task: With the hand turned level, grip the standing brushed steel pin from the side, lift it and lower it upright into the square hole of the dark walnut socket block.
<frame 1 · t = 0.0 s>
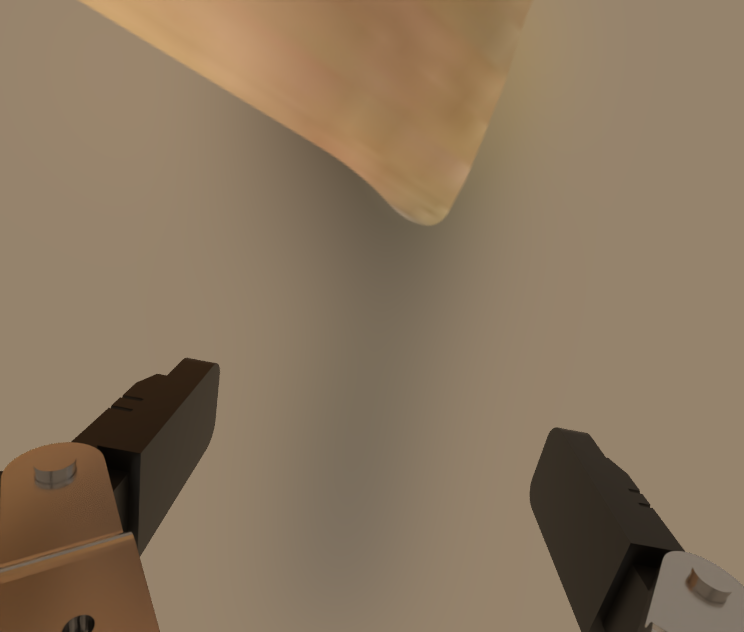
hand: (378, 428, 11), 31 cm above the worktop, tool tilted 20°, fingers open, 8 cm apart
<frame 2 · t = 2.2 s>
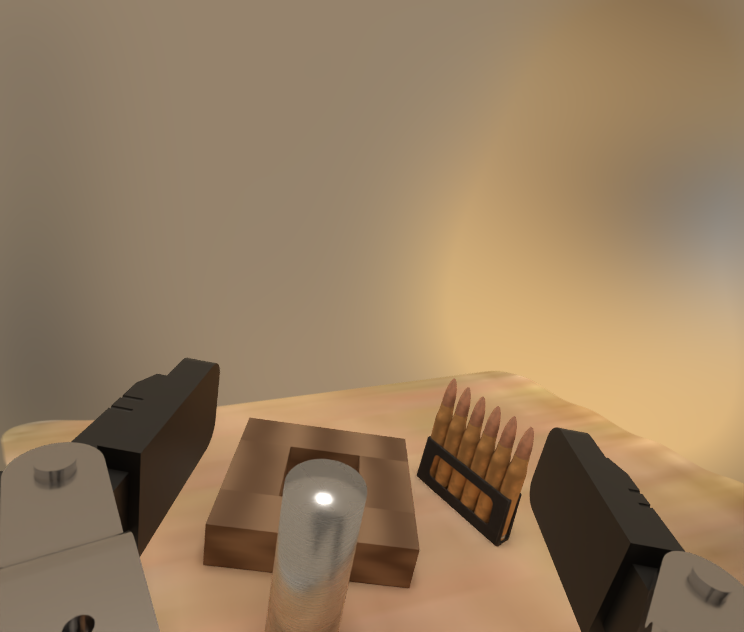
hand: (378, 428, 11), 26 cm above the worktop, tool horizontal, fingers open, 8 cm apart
walnut socket block: (316, 509, 43), on the worktop
ammunition clip: (458, 506, 47), on the worktop
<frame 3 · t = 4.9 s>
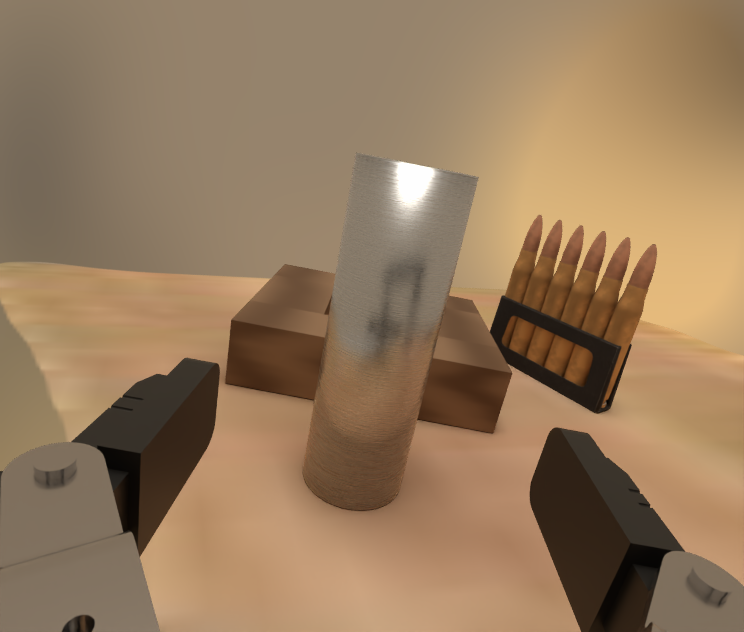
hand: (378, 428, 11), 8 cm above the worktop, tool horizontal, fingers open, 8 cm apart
walnut socket block: (366, 359, 34), on the worktop
ammunition clip: (540, 379, 38), on the worktop
steel pin: (352, 474, 22), on the worktop
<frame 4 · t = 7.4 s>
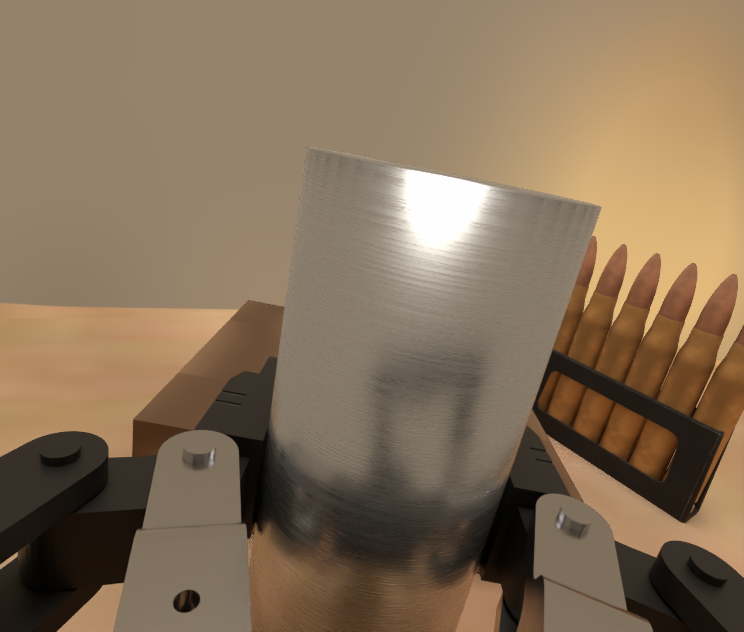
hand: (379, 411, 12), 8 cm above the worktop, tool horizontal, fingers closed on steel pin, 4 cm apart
walnut socket block: (355, 441, 24), on the worktop
ammunition clip: (592, 458, 28), on the worktop
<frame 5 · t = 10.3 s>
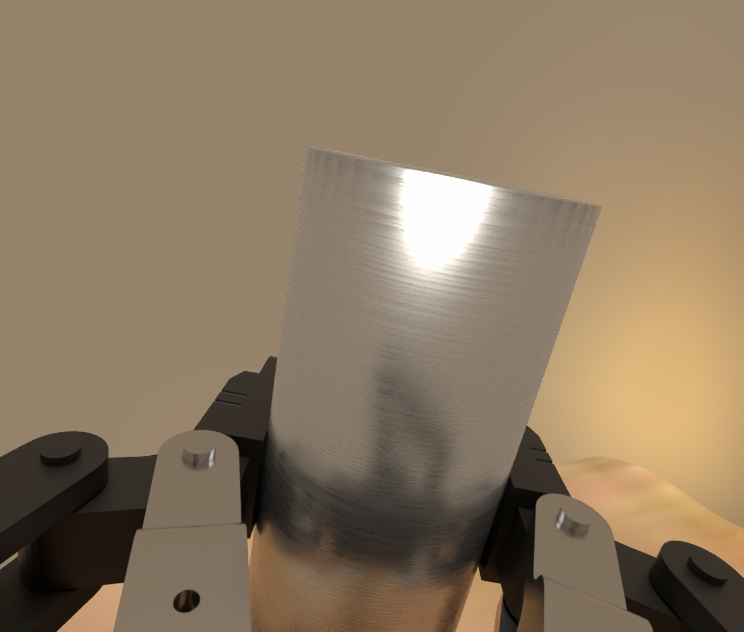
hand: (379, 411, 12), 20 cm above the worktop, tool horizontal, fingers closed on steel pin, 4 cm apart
when the fingers open (9 cm above the worktop, at t = 13.3 s): steel pin drops 1 cm, resting in walnut socket block.
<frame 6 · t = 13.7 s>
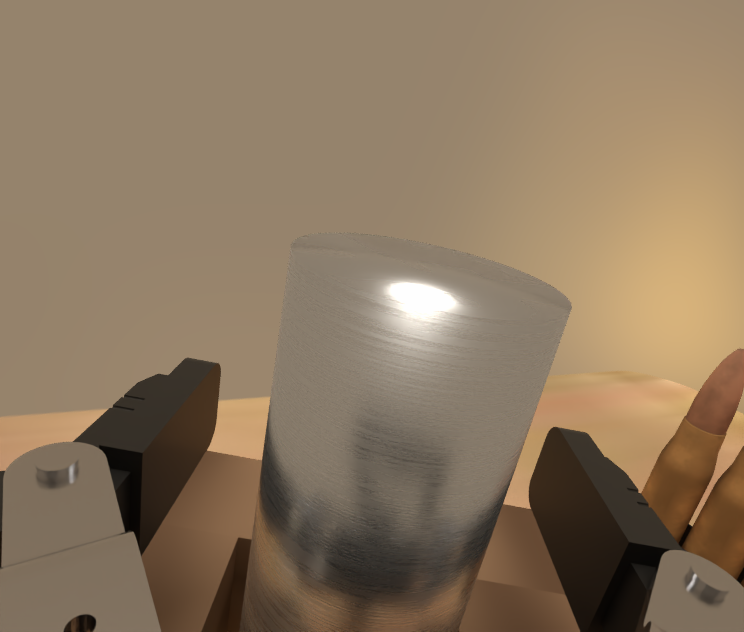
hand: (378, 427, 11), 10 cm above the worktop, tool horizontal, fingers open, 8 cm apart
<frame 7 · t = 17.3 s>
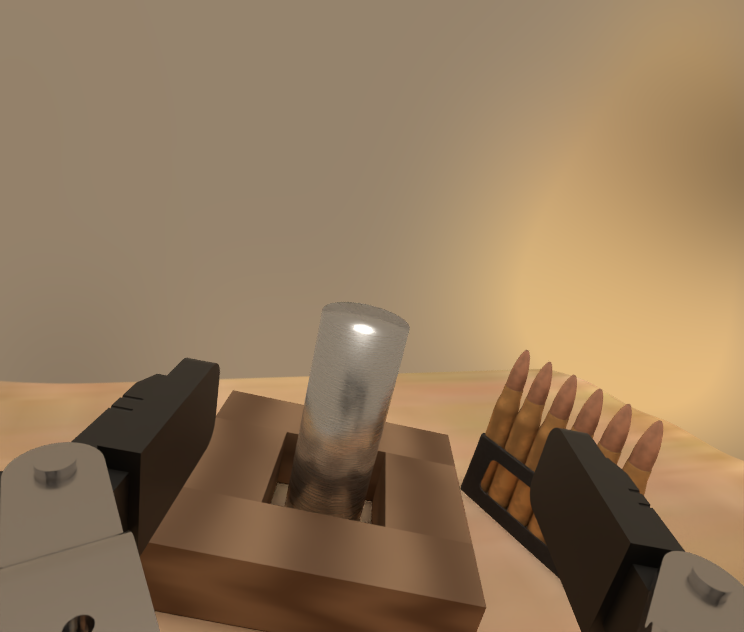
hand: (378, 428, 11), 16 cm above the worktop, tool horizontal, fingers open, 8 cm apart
walnut socket block: (318, 527, 29), on the worktop
ammunition clip: (523, 537, 33), on the worktop
steel pin: (318, 528, 29), resting in walnut socket block
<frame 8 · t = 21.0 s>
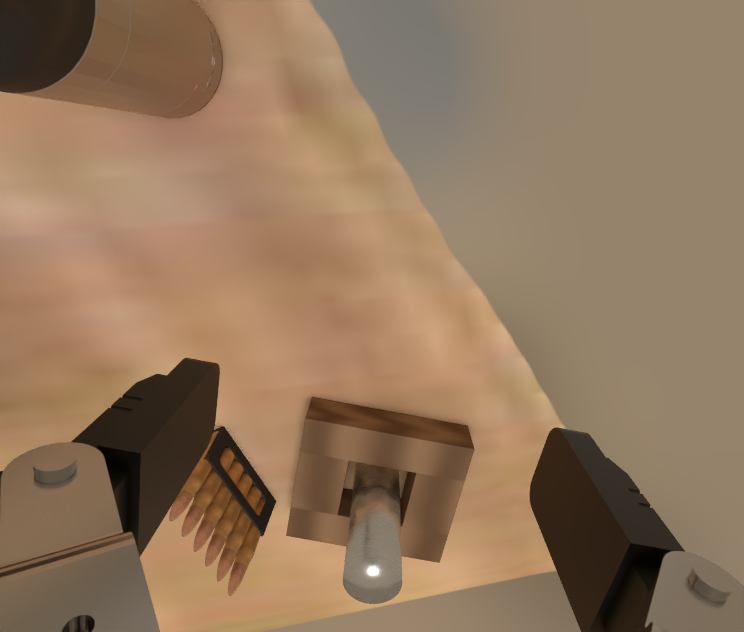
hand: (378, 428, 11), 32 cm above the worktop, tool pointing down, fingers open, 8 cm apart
walnut socket block: (377, 468, 50), on the worktop
ammunition clip: (244, 466, 51), on the worktop
steel pin: (377, 467, 50), resting in walnut socket block
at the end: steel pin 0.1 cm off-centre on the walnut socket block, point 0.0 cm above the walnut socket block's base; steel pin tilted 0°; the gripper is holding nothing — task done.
